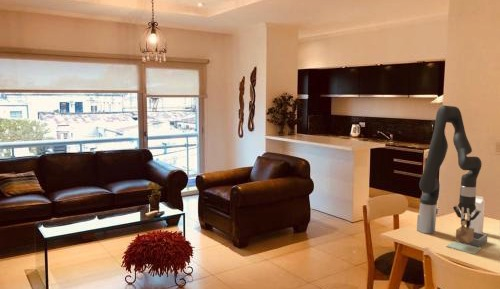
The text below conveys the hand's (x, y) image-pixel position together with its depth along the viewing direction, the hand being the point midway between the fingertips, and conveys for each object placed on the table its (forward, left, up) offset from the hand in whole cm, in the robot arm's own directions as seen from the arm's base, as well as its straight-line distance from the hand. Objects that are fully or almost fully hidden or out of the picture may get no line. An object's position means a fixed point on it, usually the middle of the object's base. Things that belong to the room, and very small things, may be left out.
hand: (465, 226), depth 217 cm
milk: (-5, +31, -12) cm, 34 cm away
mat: (0, 0, -12) cm, 12 cm away
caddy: (0, 0, -8) cm, 8 cm away
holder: (0, +13, -12) cm, 18 cm away
